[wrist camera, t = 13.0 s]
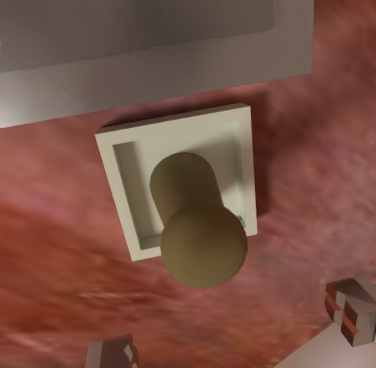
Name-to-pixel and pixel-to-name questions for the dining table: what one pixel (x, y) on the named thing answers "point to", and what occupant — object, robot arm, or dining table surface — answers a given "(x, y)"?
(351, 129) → the dining table surface
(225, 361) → the dining table surface
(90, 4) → the box
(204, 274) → the cork
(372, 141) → the dining table surface
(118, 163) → the tray
